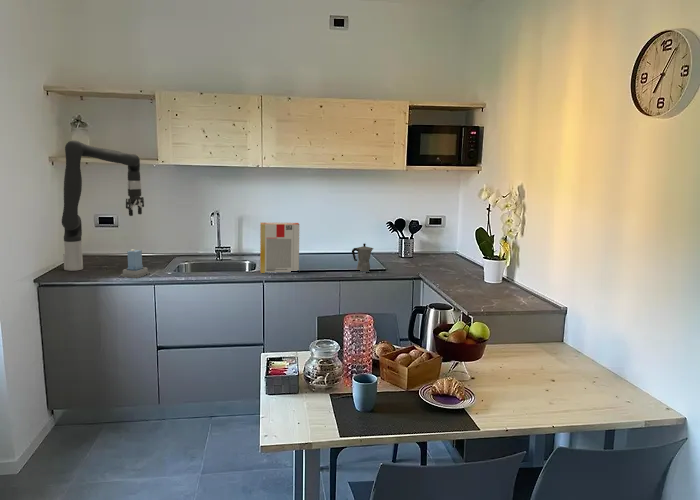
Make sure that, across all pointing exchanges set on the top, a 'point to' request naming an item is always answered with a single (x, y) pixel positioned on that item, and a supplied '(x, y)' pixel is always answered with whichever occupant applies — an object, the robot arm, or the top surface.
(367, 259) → the coffeepot
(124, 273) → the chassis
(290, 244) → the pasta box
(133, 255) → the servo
